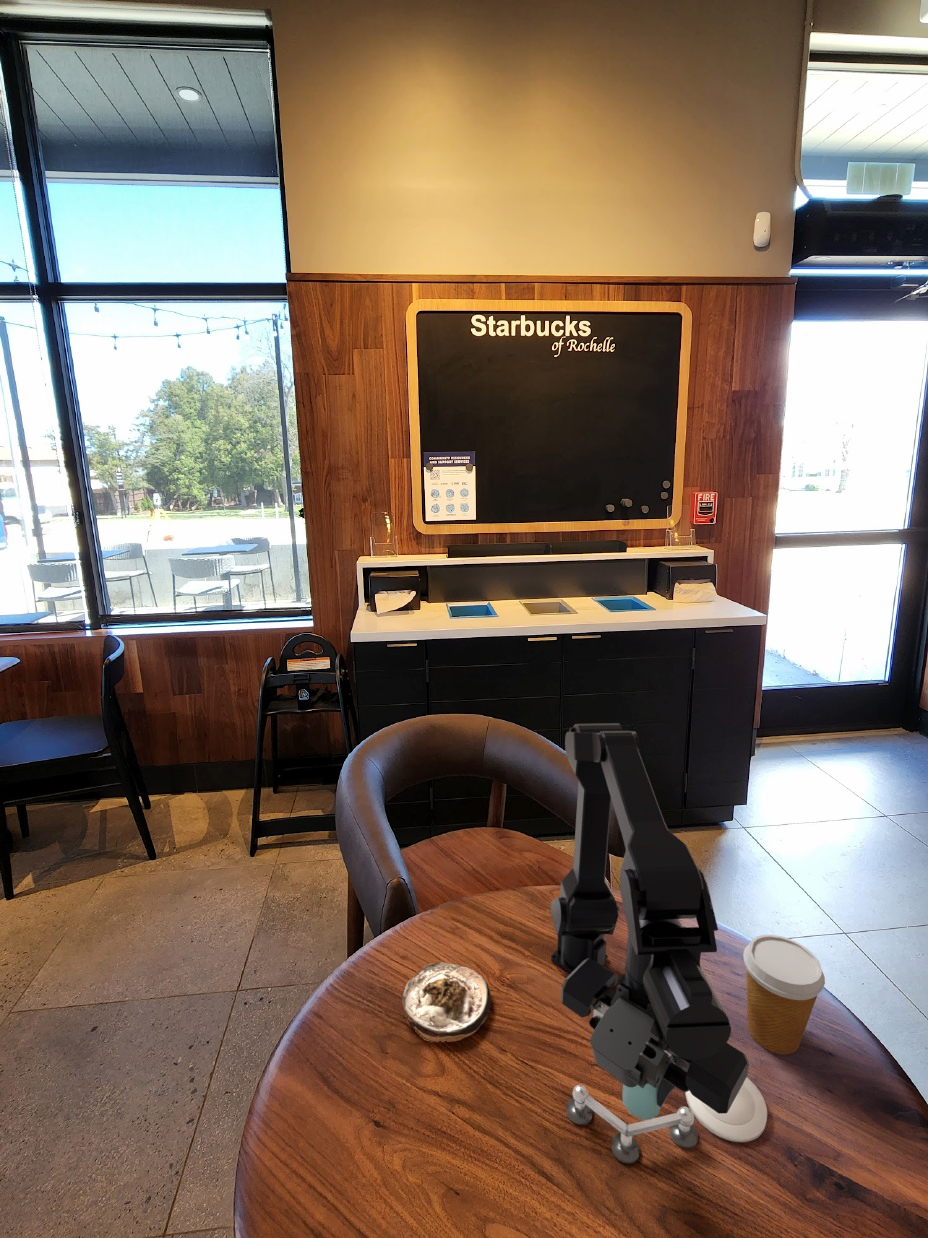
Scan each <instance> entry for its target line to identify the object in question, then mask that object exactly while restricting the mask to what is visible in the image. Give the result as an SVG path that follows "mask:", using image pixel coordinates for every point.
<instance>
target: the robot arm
mask: <svg viewBox="0 0 928 1238" xmlns="http://www.w3.org/2000/svg"><path fill="white" fill-rule="evenodd" d="M564 740H565V741H564V745H565V747H564V748H565V749H564V750H565V755H566V757H567V759H568V762H569V764H570V766H571V768H572V769H571V770H573V773H574V775H575V777H576V778H577V780H578V783H577V800H576V816H575V817H576V818H575V832H574V833H575V834H574V851H573V862H572V863H573V866H572V868H571V870H570V871H569V872H568V873H567V875H565V876H564V877H563V879H562V880H561V881H560V890H559V897H556V898H555V899H552V901H551V903H550V907H551V909H550V911H551V913H550V914H551V919H552V922H553V926H554V929H555V932H556V933H555V934H556V936H557V945H556V951H554V952H553V953H552V954H551V956H550V960H551V961H552V963H555V964H556V965H557V966H559V967H561V968H562V969H564V970H566V971H567V972H568V973H570V974H569V975H567V977H566V978H565V979H564V980H563V983H562V985H561V995H560V1000H561V1004H562V1005H563V1006H565V1007H566V1008H568V1009H569V1010H570V1011H572V1012H573V1013H574V1014H576V1015H577V1016H578V1017H580V1018H585V1017H589V1016H590V1015H591V1013H592V1012H593V1014H592V1015H593V1016H592V1017H591V1018H590V1019H589V1021H588V1024H589V1027H590V1028H591V1029H592V1030H593V1032H592V1033H591V1035H590V1039H589V1041H590V1047H591V1050H592V1055H593V1058H594V1062H595V1064H596V1065H597V1066H598V1067H600V1068H601V1069H602V1070H605V1071H606V1072H607V1073H609V1075H611V1076H613V1077H614V1078H615V1079H617V1080H618V1081H619V1082H620V1084H622V1085H623V1084H624V1085H625V1086H627V1087H635V1086H637V1085H638V1086H640V1087H641V1088H644V1087H645V1085H646V1084H650V1085H651V1086H653V1087H654V1088H657V1087H658V1086H659V1084H660V1086H659V1090H658V1095H657V1105H658V1106H660V1108H662V1106H663V1105H664V1103H665V1102H666V1101H667V1099H668V1097H669V1095H670V1094H671V1092H672V1091H673V1090H674V1089H675V1088H676V1089H678V1091H681V1092H683V1093H685V1092H688V1091H689V1090H690V1092H691V1094H692V1095H693V1096H694V1097H696V1098H697V1099H699V1100H700V1101H702V1102H703V1103H704V1104H706V1105H707V1106H709V1107H710V1108H712V1109H713V1110H714V1111H716V1112H717V1113H719V1114H720V1113H727V1112H728V1111H729V1109H730V1107H731V1105H732V1103H733V1101H734V1100H735V1098H736V1096H737V1094H738V1092H739V1090H740V1088H741V1087H742V1085H743V1083H744V1081H745V1079H746V1077H747V1078H748V1071H749V1066H750V1064H749V1060H748V1058H747V1055H746V1053H744V1052H743V1051H741V1050H739V1049H738V1048H736V1047H734V1046H733V1045H731V1044H729V1043H728V1041H729V1039H730V1036H731V1033H732V1026H731V1023H730V1020H729V1017H728V1015H727V1013H726V1011H725V1009H724V1007H723V1005H722V1004H721V1003H720V1001H719V998H718V997H717V995H716V993H715V991H714V989H713V988H712V986H711V984H710V982H709V980H708V978H707V977H706V975H705V973H704V971H703V970H702V966H701V954H703V953H704V954H705V953H717V952H718V948H717V940H716V936H715V932H717V931H719V928H718V927H719V926H718V924H717V919H716V913H715V912H714V911H715V910H714V906H713V902H712V897H711V893H710V889H709V886H708V882H707V881H706V879H705V875H704V873H703V872H702V870H701V869H700V868H698V865H697V863H696V862H695V859H694V857H693V855H692V853H691V852H690V849H689V848H688V846H687V844H686V843H685V842H683V840H681V839H680V838H679V837H677V836H676V835H675V834H674V833H672V832H671V831H670V830H669V828H668V826H667V824H666V822H665V819H664V817H663V814H662V810H661V809H660V806H659V803H658V799H657V797H656V795H655V791H654V789H653V786H652V783H651V780H650V778H649V775H648V772H647V770H646V768H645V767H646V766H645V764H644V762H643V759H642V757H641V748H642V747H641V741H640V737H639V736H638V733H636V731H631V730H624V729H623V727H622V725H621V724H620V723H618V722H617V723H616V722H615V723H614V722H613V723H611V722H610V723H575V724H573V727H570V728H569V731H567V732H566V734H565V739H564ZM611 805H613V808H614V809H613V810H614V814H615V816H616V819H617V823H618V827H619V830H620V833H621V837H622V840H623V844H624V848H625V853H624V856H623V860H622V863H621V866H620V868H619V890H620V891H619V892H620V897H621V901H622V906H623V907H622V908H623V911H624V916H625V917H624V918H625V922H626V926H627V930H628V934H627V945H626V955H625V957H626V959H625V965H624V966H625V968H624V974H623V975H622V976H621V977H620V979H619V975H618V974H617V973H615V972H614V971H612V970H610V969H609V968H607V967H605V964H606V962H607V961H608V959H609V956H608V954H607V953H606V952H607V941H606V940H605V935H609V936H614V935H613V934H614V931H615V929H616V926H617V922H618V919H619V912H620V907H619V905H618V904H617V901H616V898H615V897H614V895H613V894H614V893H613V892H612V890H611V887H610V885H609V882H608V879H607V878H606V871H607V861H608V860H607V859H608V858H607V857H608V845H609V834H610V833H609V832H610V821H611V820H610V818H611V807H612V806H611ZM687 919H688V920H689V919H696V923H697V926H693V927H692V926H690V927H689V926H687V927H685V926H683V924H682V923H681V921H680V920H687ZM616 985H617V986H616ZM615 986H616V991H615V990H613V989H612V988H613V987H615ZM592 1010H593V1011H592Z"/></svg>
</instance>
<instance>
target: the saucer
mask: <svg viewBox="0 0 928 1238" xmlns="http://www.w3.org/2000/svg"><path fill="white" fill-rule="evenodd" d="M684 1094H685V1100H686V1102H687V1105H688V1108H689V1109H690V1110H691V1111H692V1113H693V1115H694V1118H695V1119H696V1120H697V1121H698V1122H699V1123H700V1124H701V1125H702V1126H703V1127H704V1128H705V1129H707V1130H708V1131H709V1132H710V1133H712V1134H714V1135H715V1136H718V1137H719V1138H721V1139H724V1140H726V1141H731V1142H736V1143H749V1142H751V1141H755V1140H756V1139H758V1138H759V1137H760V1136H761V1135H762V1134H763V1132H764V1131H765V1128H766V1126H767V1120H768V1108H767V1107H768V1106H767V1105H766V1101H765V1099H764V1097H763V1095H762V1093H761V1092H760V1090H759V1088H758V1087H757V1086H756V1085H755V1084H754V1082H753V1081H751V1079H749V1077H748V1076H747V1077H746V1079H745V1081H744V1083H743V1085H742V1087H741V1088H740V1090H739V1092H738V1094H737V1096H736V1098H735V1100H734V1101H733V1103H732V1105H731V1107H730V1109H729V1111H728V1112H727V1113H720V1114H719V1113H717V1112H716V1111H714V1110H713V1109H712V1108H710V1107H709V1106H707V1105H706V1104H704V1103H703V1102H702V1101H700V1100H699V1099H697V1098H696V1097H694V1096H693V1095H692V1094H691V1092H690V1090H689V1091H688V1092H684Z"/></svg>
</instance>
